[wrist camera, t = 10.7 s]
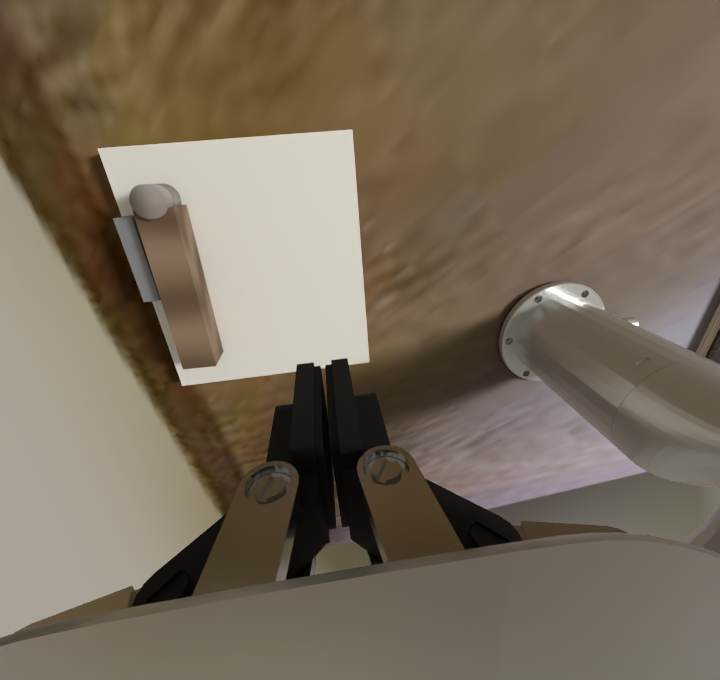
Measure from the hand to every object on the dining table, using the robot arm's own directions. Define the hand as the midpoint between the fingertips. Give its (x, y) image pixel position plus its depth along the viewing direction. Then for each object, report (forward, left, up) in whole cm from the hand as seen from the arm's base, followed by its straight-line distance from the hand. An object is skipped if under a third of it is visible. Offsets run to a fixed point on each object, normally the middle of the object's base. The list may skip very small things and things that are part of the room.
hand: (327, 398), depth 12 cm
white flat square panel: (+6, +1, -25) cm, 26 cm away
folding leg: (+12, +1, -23) cm, 26 cm away
